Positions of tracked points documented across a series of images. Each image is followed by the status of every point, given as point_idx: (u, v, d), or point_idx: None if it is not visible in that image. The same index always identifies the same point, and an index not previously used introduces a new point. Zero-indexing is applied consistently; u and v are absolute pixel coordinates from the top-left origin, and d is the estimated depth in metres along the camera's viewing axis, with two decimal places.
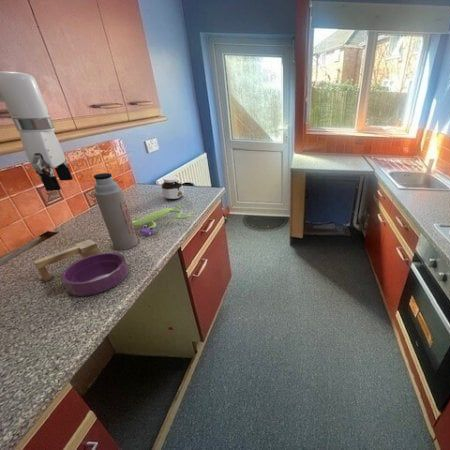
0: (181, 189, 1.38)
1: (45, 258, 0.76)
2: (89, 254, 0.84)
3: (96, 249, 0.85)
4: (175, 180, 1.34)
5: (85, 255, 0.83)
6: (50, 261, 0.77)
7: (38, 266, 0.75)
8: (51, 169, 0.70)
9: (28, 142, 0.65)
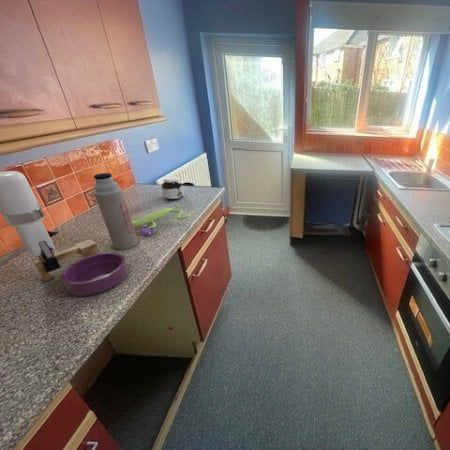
0: (181, 189, 1.38)
1: None
2: (89, 254, 0.84)
3: (96, 249, 0.85)
4: (175, 180, 1.34)
5: (85, 255, 0.83)
6: None
7: (38, 266, 0.75)
8: (52, 252, 0.76)
9: (32, 234, 0.69)
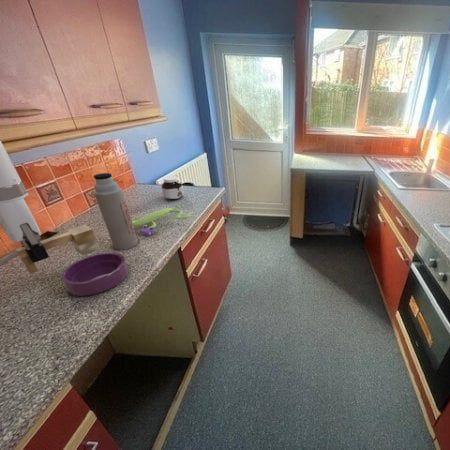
0: (181, 189, 1.38)
1: None
2: (84, 242, 0.71)
3: (92, 236, 0.72)
4: (175, 180, 1.34)
5: (78, 243, 0.70)
6: None
7: (21, 255, 0.62)
8: (38, 238, 0.63)
9: (11, 214, 0.56)
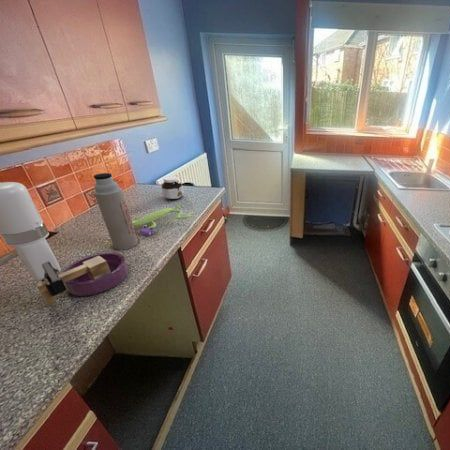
0: (181, 189, 1.38)
1: None
2: (98, 273, 0.75)
3: (106, 267, 0.76)
4: (175, 180, 1.34)
5: (93, 275, 0.74)
6: None
7: (41, 290, 0.65)
8: None
9: (35, 254, 0.59)
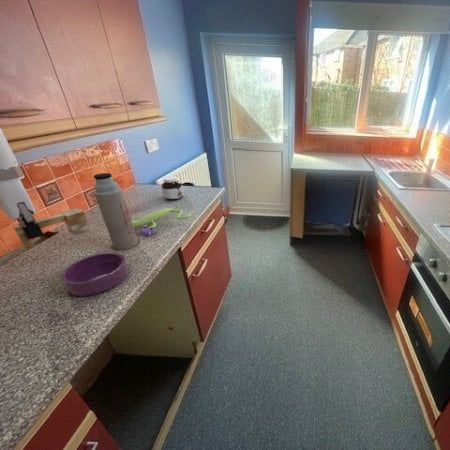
0: (181, 189, 1.38)
1: None
2: (76, 223, 0.78)
3: (84, 218, 0.79)
4: (175, 180, 1.34)
5: (71, 223, 0.77)
6: None
7: (18, 232, 0.69)
8: (33, 217, 0.69)
9: (9, 193, 0.63)
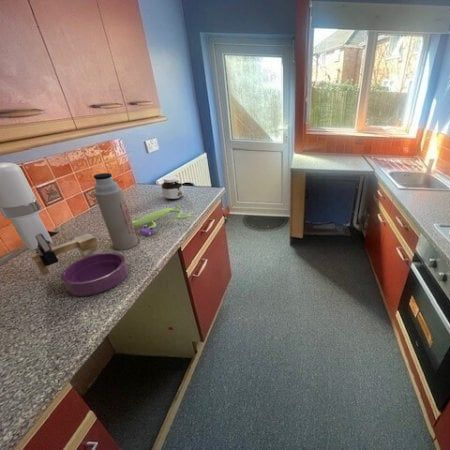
0: (181, 189, 1.38)
1: None
2: (88, 248, 0.83)
3: (95, 243, 0.84)
4: (175, 180, 1.34)
5: (83, 249, 0.82)
6: None
7: (36, 260, 0.74)
8: (49, 246, 0.75)
9: (29, 227, 0.68)
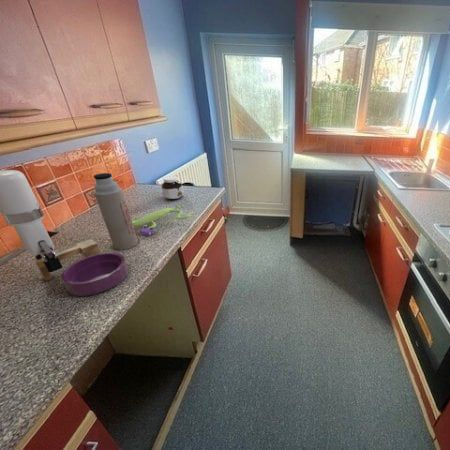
0: (181, 189, 1.38)
1: None
2: (90, 254, 0.84)
3: (97, 249, 0.86)
4: (175, 180, 1.34)
5: (85, 255, 0.83)
6: None
7: (39, 266, 0.75)
8: (53, 251, 0.74)
9: (31, 233, 0.69)
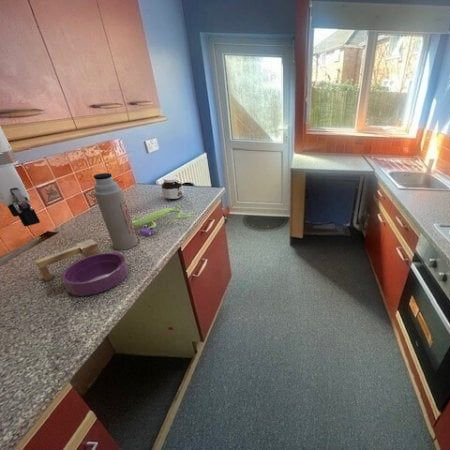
0: (181, 189, 1.38)
1: (46, 258, 0.77)
2: (90, 254, 0.84)
3: (97, 249, 0.86)
4: (175, 180, 1.34)
5: (85, 255, 0.83)
6: (51, 261, 0.77)
7: (39, 266, 0.75)
8: (28, 202, 0.67)
9: (2, 178, 0.62)
